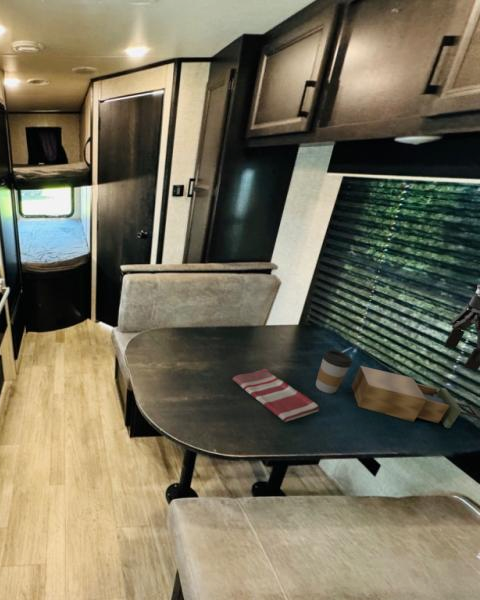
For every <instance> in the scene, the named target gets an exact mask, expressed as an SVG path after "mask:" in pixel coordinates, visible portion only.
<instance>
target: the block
mask: <svg viewBox="0 0 480 600" xmlns="http://www.w3.org/2000/svg"><path fill="white" fill-rule="evenodd" d="M423 395H424V396H425V398H426V399H427V400H431V401H435V402H439V403H443V404H445V403H444V401H443V400H442V398H439V397H435V396H436V395H433V396H431V395H427V394H423Z"/></svg>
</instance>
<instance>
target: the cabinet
mask: <svg viewBox="0 0 480 600" xmlns="http://www.w3.org/2000/svg"><path fill="white" fill-rule="evenodd" d="M416 382H417V381H415V379H414V377H411V376H407V375H403V374H398V373H393V372H389V371H384V370H380V369H376V368H371V367H367V366H363V365H360V366H359V369H358V371H357V372H356V375H355V376H354V379H353V381H352V384H351V389H352V392H353V395H354V398H355V401H356V403H357V406H358V407H359V408H362V409H365V410H370V411H373V412H377V413H380V414H385V415H388V416H390V417H391V416H392V417H395V418H399V419H402V420H406V421H409V422H415V420H416V419H417V415H418V414H419V412H420V410H421V409H422V407H423V405H424V404H425V402H426V400H427V399H426V398H425V396H424V395H423V393H422V392H421V390H420V388H419V387H418V385H417V384H418V383H417V384H416Z"/></svg>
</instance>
